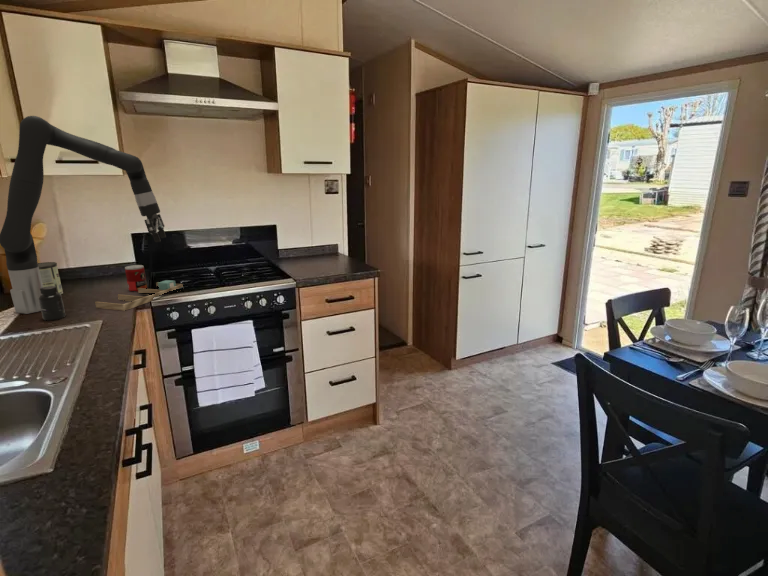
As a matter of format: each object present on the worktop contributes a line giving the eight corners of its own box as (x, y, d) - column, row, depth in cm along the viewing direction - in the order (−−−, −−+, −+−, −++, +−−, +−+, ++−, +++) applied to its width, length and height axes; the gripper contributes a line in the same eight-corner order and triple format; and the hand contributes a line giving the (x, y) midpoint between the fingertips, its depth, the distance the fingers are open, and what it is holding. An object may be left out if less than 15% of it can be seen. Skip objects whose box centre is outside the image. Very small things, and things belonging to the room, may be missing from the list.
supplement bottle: (39, 321, 154) (32, 290, 151) (48, 316, 161) (41, 286, 157) (61, 320, 156) (54, 289, 153) (69, 314, 162) (62, 284, 159)
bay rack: (124, 310, 166) (123, 304, 166) (96, 307, 170) (95, 301, 169) (183, 289, 196) (182, 284, 196) (157, 287, 200) (157, 282, 199)
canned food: (139, 292, 192) (135, 268, 189) (124, 291, 194) (120, 268, 191) (151, 287, 199) (147, 265, 196) (137, 287, 201) (133, 264, 198)
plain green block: (168, 294, 189) (167, 283, 188) (159, 293, 190) (157, 282, 189) (176, 291, 194) (175, 280, 192) (167, 290, 195) (166, 280, 194)
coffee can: (33, 294, 189) (25, 264, 185) (61, 290, 196) (54, 261, 192) (36, 299, 182) (28, 268, 178) (65, 294, 189) (58, 264, 185)
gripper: (143, 203, 185) (157, 238, 191) (132, 207, 172) (146, 245, 177) (161, 199, 186) (174, 234, 192) (151, 203, 173) (165, 241, 178)
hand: (160, 239), depth 185 cm, fingers open, 8 cm apart
